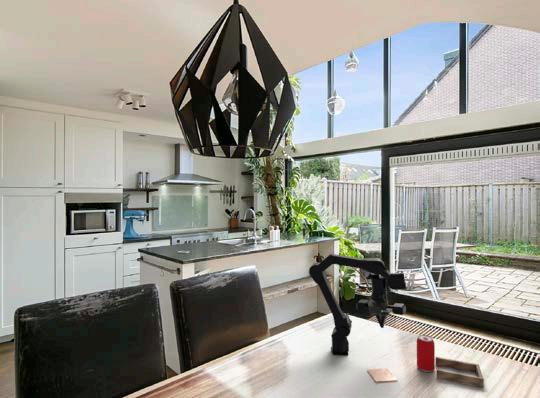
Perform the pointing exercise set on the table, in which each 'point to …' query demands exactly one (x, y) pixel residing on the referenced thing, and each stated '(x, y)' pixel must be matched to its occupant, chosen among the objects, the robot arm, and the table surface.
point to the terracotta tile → (382, 375)
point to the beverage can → (425, 353)
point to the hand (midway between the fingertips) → (382, 327)
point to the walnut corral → (459, 372)
